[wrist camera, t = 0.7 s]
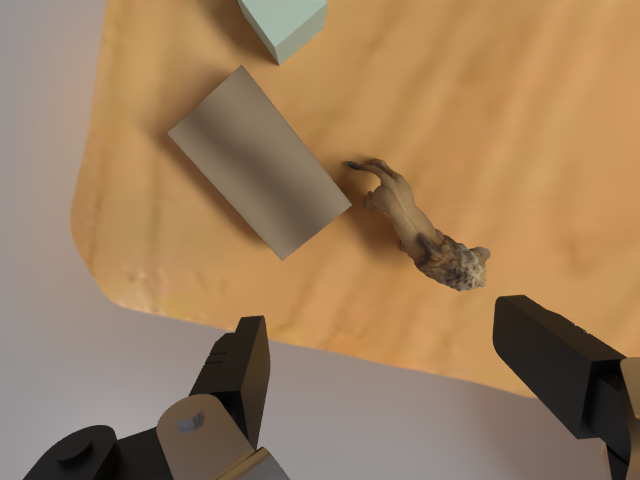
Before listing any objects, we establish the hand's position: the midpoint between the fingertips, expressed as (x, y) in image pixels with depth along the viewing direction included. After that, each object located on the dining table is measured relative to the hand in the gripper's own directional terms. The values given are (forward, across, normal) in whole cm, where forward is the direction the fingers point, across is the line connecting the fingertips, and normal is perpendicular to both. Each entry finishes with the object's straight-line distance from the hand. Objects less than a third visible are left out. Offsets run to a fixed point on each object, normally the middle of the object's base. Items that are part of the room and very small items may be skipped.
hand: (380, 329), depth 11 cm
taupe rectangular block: (+22, +6, -5) cm, 24 cm away
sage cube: (+22, +3, -17) cm, 28 cm away
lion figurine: (+22, -7, +1) cm, 24 cm away
